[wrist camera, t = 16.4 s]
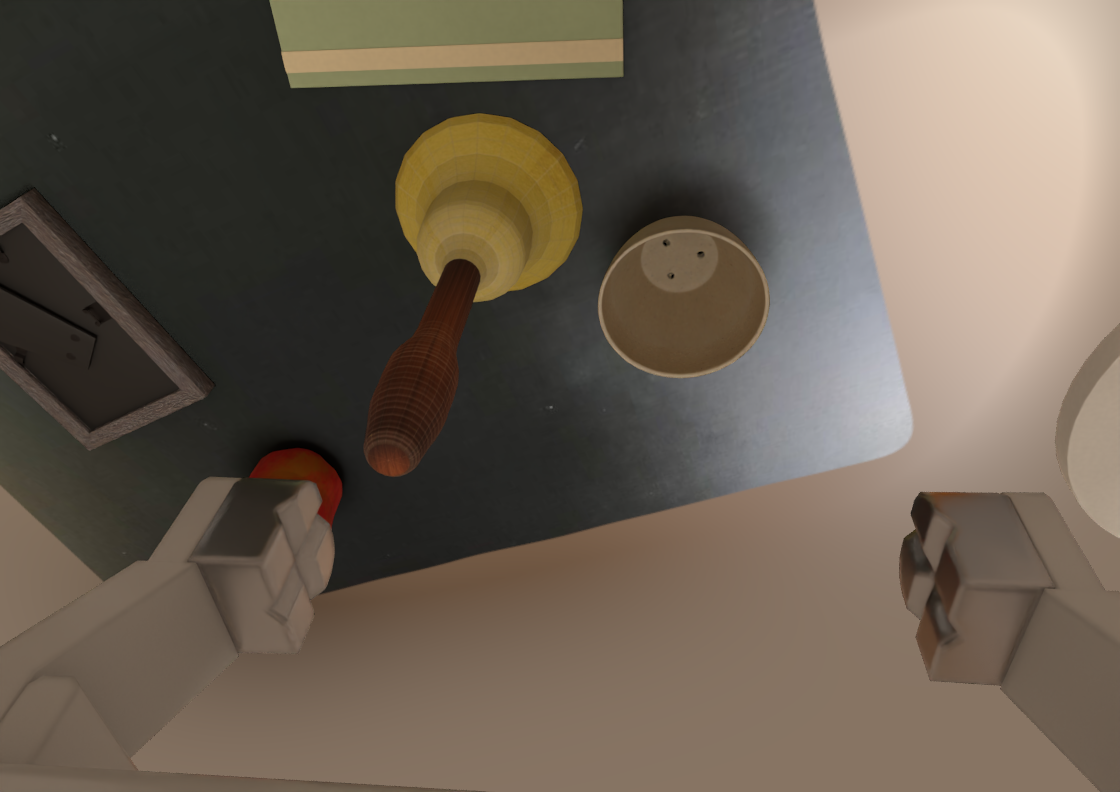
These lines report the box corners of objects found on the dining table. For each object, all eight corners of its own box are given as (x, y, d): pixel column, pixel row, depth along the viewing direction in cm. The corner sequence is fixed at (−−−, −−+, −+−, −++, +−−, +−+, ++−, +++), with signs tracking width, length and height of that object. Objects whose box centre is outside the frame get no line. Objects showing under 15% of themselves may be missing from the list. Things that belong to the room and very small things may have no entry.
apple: (308, 519, 72) (257, 628, 62) (234, 459, 68) (167, 565, 59) (376, 479, 68) (331, 589, 59) (301, 413, 65) (241, 519, 55)
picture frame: (-85, 264, 60) (99, 438, 68) (-105, 277, 58) (86, 454, 67) (34, 188, 55) (215, 385, 64) (15, 199, 53) (204, 400, 62)
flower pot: (774, 292, 55) (788, 351, 49) (634, 336, 58) (632, 396, 52) (732, 157, 49) (742, 205, 44) (580, 212, 52) (571, 264, 47)
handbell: (580, 112, 49) (531, 332, 29) (584, 293, 56) (547, 570, 36) (380, 113, 50) (197, 327, 30) (409, 291, 57) (278, 558, 37)
